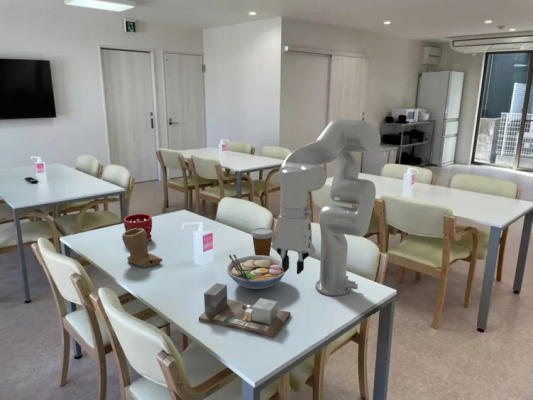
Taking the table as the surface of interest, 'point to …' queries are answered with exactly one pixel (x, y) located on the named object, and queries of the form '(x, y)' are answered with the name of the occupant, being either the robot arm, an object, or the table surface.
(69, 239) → the table surface
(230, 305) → the bench
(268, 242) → the disposable coffee cup
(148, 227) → the plant pot
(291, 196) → the robot arm
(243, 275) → the ramen bowl
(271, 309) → the gauge plunger
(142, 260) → the brown boot-shaped piece
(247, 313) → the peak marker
